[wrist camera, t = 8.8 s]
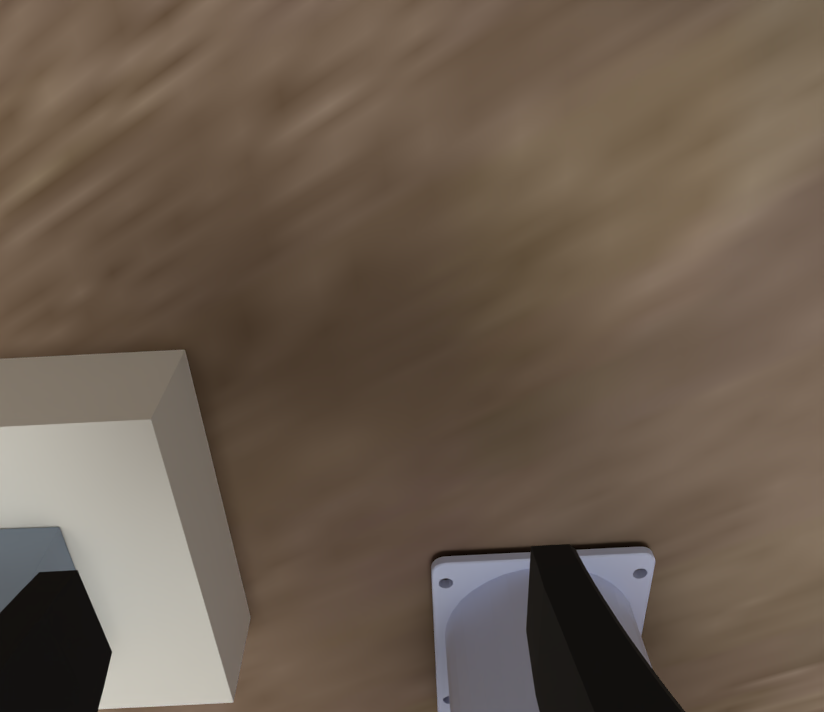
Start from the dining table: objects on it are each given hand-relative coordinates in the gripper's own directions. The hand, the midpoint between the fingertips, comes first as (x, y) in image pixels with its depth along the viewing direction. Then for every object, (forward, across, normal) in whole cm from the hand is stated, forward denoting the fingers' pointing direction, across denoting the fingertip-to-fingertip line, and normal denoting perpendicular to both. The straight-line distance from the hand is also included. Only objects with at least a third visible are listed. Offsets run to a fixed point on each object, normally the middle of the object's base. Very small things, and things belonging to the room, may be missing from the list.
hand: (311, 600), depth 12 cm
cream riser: (+11, +11, +7) cm, 17 cm away
